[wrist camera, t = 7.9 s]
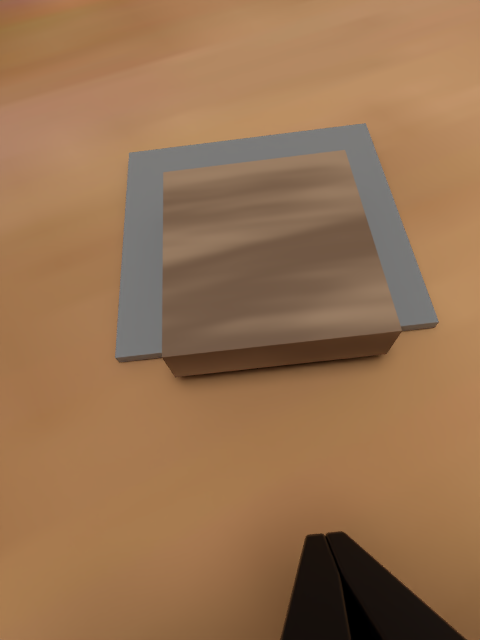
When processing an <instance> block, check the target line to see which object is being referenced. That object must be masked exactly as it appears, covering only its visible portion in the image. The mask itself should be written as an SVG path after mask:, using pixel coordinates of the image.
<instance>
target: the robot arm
mask: <svg viewBox="0 0 480 640" xmlns="http://www.w3.org/2000/svg"><path fill="white" fill-rule="evenodd" d="M280 640H466V639H465V638H464V637H463V636H462V635H461V634H460V633H458V632H457V631H456V630H455V629H454V628H453V627H452V626H450V625H449V624H448V623H447V622H446V621H445V620H444V619H442V618H441V617H440V616H439V615H438V614H437V613H436V612H434V611H433V610H432V609H431V608H430V607H429V606H428V605H427V604H425V603H424V602H423V601H422V600H421V599H420V598H419V597H417V596H416V595H415V594H414V593H413V592H412V591H411V590H409V589H408V588H407V587H406V586H405V585H404V584H403V583H401V582H400V581H399V580H398V579H397V578H396V577H395V576H393V575H392V574H391V573H390V572H389V571H388V570H387V569H386V568H384V567H383V566H382V565H381V564H380V563H379V562H378V561H376V560H375V559H374V558H373V557H372V556H371V555H370V554H368V553H367V552H366V551H365V550H364V549H363V548H362V547H360V546H359V545H358V544H357V543H356V542H355V541H354V540H352V539H351V538H350V537H349V536H348V535H347V534H346V533H344V532H342V531H340V532H330V533H327V534H326V535H324V534H312V535H307V536H306V538H305V541H304V545H303V549H302V553H301V557H300V562H299V566H298V570H297V574H296V578H295V582H294V586H293V590H292V594H291V598H290V602H289V606H288V610H287V614H286V618H285V623H284V627H283V631H282V635H281V639H280Z"/></svg>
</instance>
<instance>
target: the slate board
mask: <svg viewBox="0 0 480 640" xmlns="http://www.w3.org/2000/svg"><path fill="white" fill-rule="evenodd" d="M340 150H345V151H346V154H347V158H348V161H349V164H350V167H351V170H352V173H353V177H354V180H355V183H356V186H357V189H358V192H359V196H360V199H361V202H362V205H363V208H364V211H365V215H366V218H367V221H368V224H369V227H370V230H371V234H372V237H373V240H374V243H375V246H376V250H377V253H378V256H379V259H380V262H381V265H382V269H383V272H384V275H385V278H386V281H387V284H388V288H389V291H390V294H391V297H392V300H393V303H394V307H395V310H396V313H397V316H398V319H399V322H400V326H401V329H402V331H407V330H416V329H425V328H434V327H435V326H436V325H437V324H438V322H439V321H438V319H437V316H436V313H435V310H434V308H433V305H432V302H431V300H430V297H429V294H428V291H427V289H426V286H425V283H424V281H423V278H422V275H421V272H420V270H419V267H418V264H417V262H416V259H415V256H414V253H413V251H412V248H411V245H410V243H409V240H408V237H407V234H406V232H405V229H404V226H403V224H402V221H401V218H400V215H399V213H398V210H397V207H396V205H395V202H394V199H393V196H392V194H391V191H390V188H389V186H388V183H387V180H386V177H385V175H384V172H383V169H382V167H381V164H380V161H379V158H378V156H377V153H376V150H375V148H374V145H373V142H372V139H371V137H370V134H369V131H368V129H367V126H366V123H365V124H357V125H349V126H341V127H333V128H325V129H317V130H309V131H301V132H293V133H285V134H277V135H269V136H261V137H252V138H244V139H236V140H228V141H220V142H212V143H204V144H196V145H188V146H180V147H172V148H164V149H156V150H148V151H140V152H132V153H129V164H128V179H127V193H126V208H125V222H124V237H123V251H122V266H121V280H120V295H119V310H118V324H117V339H116V353H115V358H116V359H117V360H118V361H119V362H126V361H135V360H144V359H153V358H162V280H163V172H169V171H177V170H186V169H194V168H202V167H210V166H218V165H226V164H234V163H242V162H250V161H259V160H267V159H275V158H283V157H291V156H299V155H307V154H315V153H323V152H331V151H340Z"/></svg>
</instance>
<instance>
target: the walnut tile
mask: <svg viewBox="0 0 480 640" xmlns="http://www.w3.org/2000/svg"><path fill="white" fill-rule="evenodd" d="M401 332H402V329H401V326H400V322H399V319H398V316H397V313H396V310H395V307H394V303H393V300H392V297H391V294H390V291H389V288H388V284H387V281H386V278H385V275H384V272H383V269H382V265H381V262H380V259H379V256H378V253H377V250H376V246H375V243H374V240H373V237H372V234H371V230H370V227H369V224H368V221H367V218H366V215H365V211H364V208H363V205H362V202H361V199H360V196H359V192H358V189H357V186H356V183H355V180H354V177H353V173H352V170H351V167H350V164H349V161H348V158H347V154H346V151H345V150H340V151H331V152H323V153H315V154H307V155H299V156H291V157H283V158H275V159H267V160H259V161H250V162H242V163H234V164H226V165H218V166H210V167H202V168H194V169H186V170H177V171H169V172H163V280H162V358H163V360H164V361H165V363H166V364H167V366H168V367H169V368H170V370H171V371H172V373H173V374H174V376H175V377H179V376H189V375H198V374H207V373H216V372H225V371H234V370H244V369H253V368H262V367H271V366H280V365H289V364H299V363H308V362H317V361H326V360H335V359H344V358H354V357H363V356H372V355H381V354H387V352H388V351H389V349H390V348H391V346H392V345H393V343H394V342H395V340H396V339H397V338H398V336H399V335H400V333H401Z"/></svg>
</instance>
